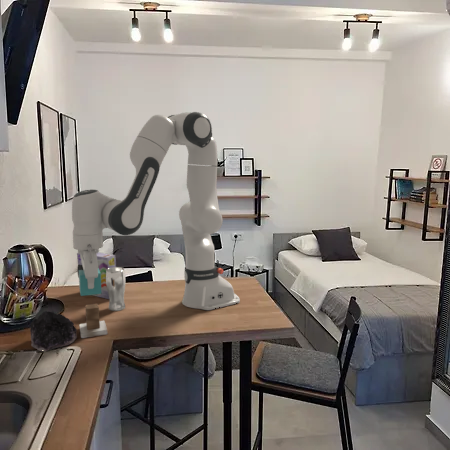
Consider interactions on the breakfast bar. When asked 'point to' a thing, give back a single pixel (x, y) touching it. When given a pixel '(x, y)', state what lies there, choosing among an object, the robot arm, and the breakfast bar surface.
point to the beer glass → (115, 288)
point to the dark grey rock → (52, 331)
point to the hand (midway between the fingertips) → (89, 284)
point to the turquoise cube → (84, 284)
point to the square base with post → (92, 323)
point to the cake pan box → (101, 270)
